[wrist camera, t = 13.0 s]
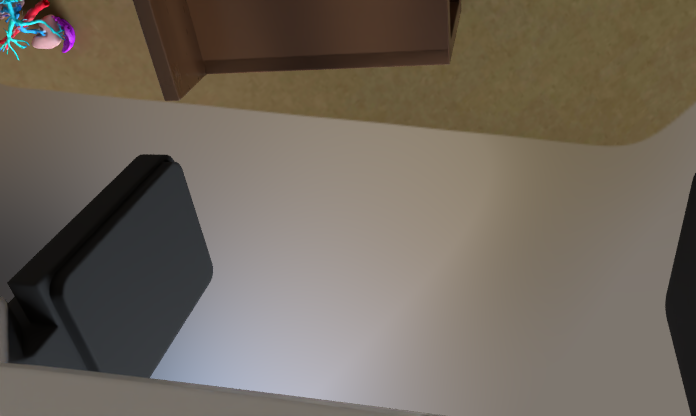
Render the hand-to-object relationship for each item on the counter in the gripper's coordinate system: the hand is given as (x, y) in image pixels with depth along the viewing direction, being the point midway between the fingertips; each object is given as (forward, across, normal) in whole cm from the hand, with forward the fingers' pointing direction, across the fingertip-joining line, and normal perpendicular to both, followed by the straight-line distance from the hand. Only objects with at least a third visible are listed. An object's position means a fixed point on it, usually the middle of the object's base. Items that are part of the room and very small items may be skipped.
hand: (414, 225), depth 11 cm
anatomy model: (+34, +38, +5) cm, 51 cm away
